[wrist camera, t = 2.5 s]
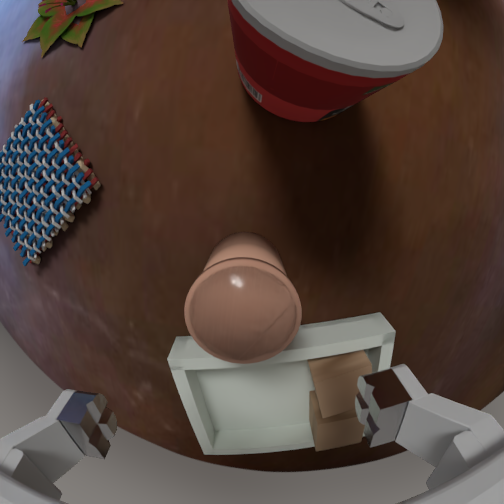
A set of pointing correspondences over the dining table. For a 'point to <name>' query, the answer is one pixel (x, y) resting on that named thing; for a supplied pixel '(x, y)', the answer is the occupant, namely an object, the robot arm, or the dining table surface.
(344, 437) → the block
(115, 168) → the dining table surface
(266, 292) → the pink lidded jar
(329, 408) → the block
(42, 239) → the woven mat
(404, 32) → the canned food
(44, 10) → the lily flower
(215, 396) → the tray
